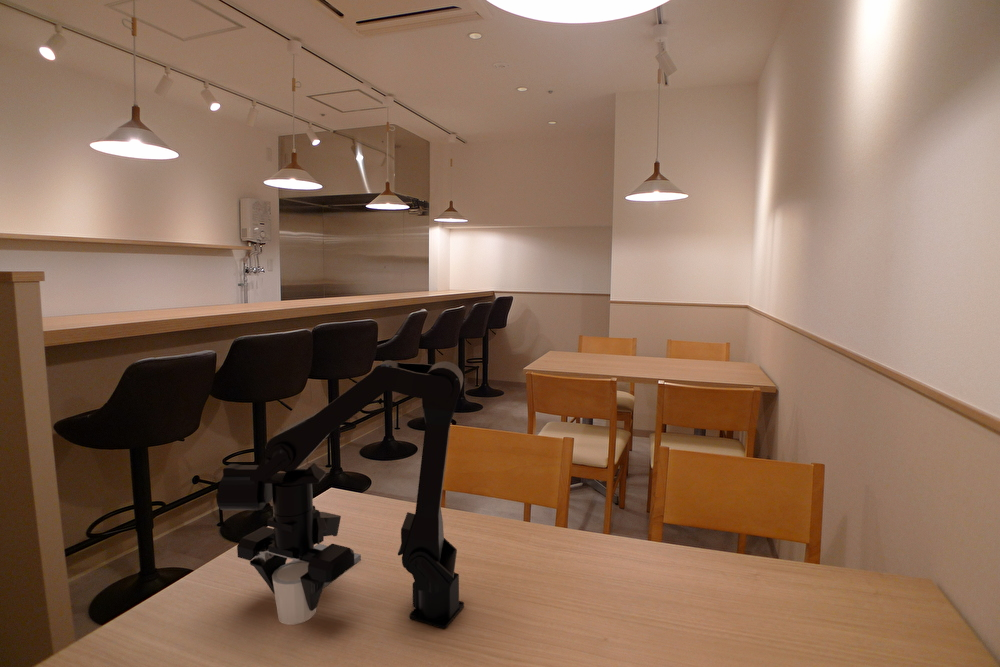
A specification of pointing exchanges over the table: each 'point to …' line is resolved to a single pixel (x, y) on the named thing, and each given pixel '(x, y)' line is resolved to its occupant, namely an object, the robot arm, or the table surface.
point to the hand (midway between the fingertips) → (297, 604)
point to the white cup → (291, 593)
